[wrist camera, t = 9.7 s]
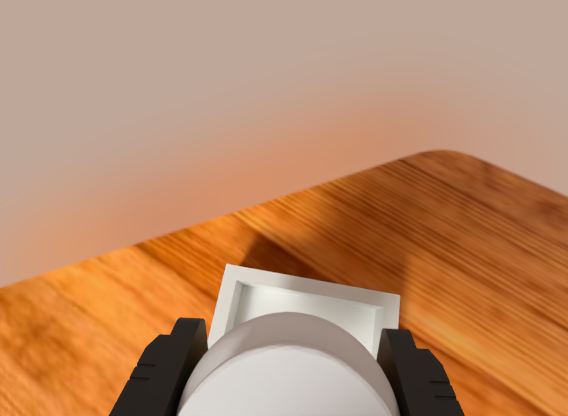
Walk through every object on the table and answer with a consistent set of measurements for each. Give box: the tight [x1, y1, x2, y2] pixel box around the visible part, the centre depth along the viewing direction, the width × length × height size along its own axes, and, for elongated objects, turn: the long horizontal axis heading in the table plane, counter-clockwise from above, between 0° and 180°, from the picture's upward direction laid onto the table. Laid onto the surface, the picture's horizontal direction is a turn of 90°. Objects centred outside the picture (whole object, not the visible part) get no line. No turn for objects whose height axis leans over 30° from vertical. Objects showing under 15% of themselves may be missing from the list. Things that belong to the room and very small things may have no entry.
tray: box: [207, 264, 400, 360], centre depth 19 cm, size 10×10×3 cm
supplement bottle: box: [176, 312, 400, 416], centre depth 10 cm, size 5×5×10 cm
